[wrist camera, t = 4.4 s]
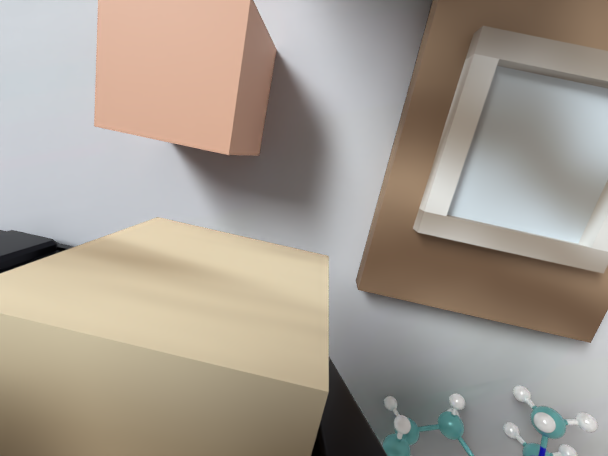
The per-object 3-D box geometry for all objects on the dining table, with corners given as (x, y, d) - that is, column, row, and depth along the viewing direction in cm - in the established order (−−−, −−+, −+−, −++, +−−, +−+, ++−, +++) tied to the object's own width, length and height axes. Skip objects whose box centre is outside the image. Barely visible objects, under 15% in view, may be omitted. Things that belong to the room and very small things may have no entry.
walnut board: (571, 329, 16) (604, 353, 14) (355, 280, 17) (359, 296, 15) (735, -5, 12) (812, -35, 10) (449, -62, 13) (471, -101, 11)
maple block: (293, 399, 10) (257, 645, 5) (144, 363, 10) (-37, 566, 5) (328, 255, 8) (328, 392, 4) (157, 217, 9) (-66, 297, 4)
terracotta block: (259, 155, 16) (228, 155, 11) (166, 135, 16) (94, 126, 11) (277, 50, 14) (250, -5, 9) (176, 29, 14) (99, -35, 10)
